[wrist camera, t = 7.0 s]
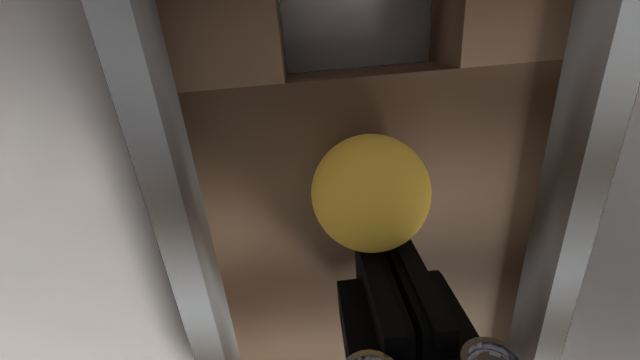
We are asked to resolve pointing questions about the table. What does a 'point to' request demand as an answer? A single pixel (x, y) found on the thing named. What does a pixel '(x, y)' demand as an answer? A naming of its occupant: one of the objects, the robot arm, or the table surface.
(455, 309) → the robot arm
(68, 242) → the table surface
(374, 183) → the ball
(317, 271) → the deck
